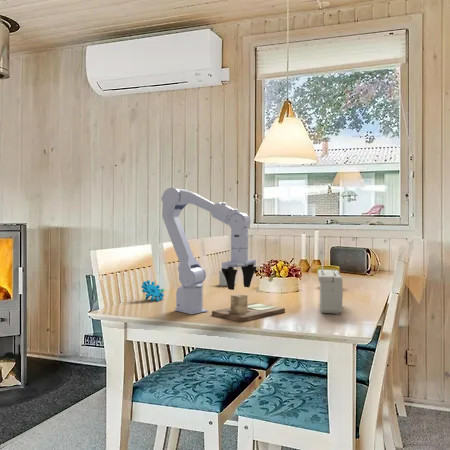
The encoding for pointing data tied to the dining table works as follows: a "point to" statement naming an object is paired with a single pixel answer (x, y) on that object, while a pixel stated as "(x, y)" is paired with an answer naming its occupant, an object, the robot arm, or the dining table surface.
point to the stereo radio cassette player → (330, 290)
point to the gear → (152, 291)
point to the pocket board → (249, 312)
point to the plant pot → (328, 268)
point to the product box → (223, 279)
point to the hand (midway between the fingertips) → (239, 288)
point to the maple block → (239, 304)
